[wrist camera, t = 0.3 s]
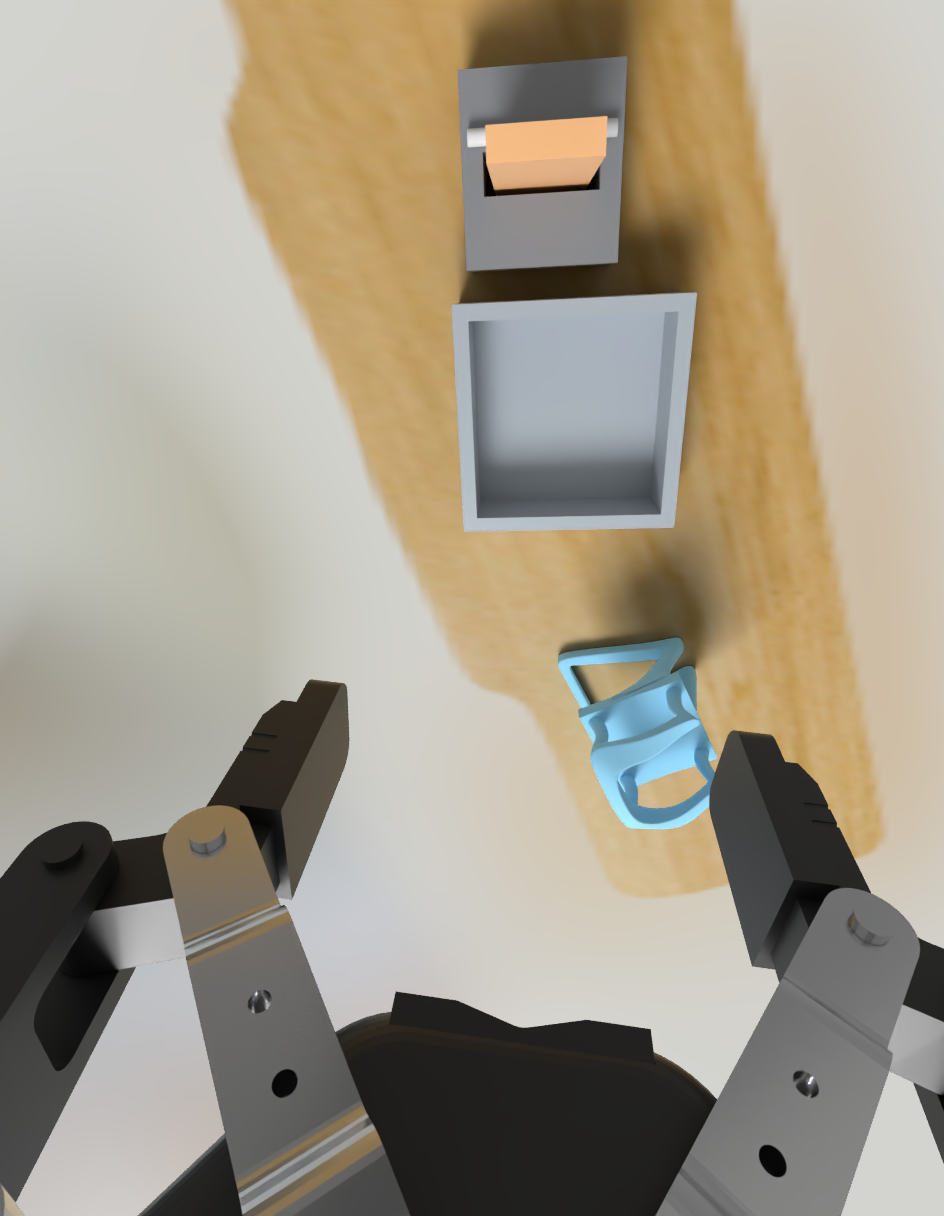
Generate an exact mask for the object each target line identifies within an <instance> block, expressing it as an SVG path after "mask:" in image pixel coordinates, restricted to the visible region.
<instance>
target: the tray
mask: <svg viewBox="0 0 944 1216" xmlns="http://www.w3.org/2000/svg"><path fill="white" fill-rule="evenodd" d="M696 299H697V293H695V292H672V293H652V294H632V295H612V296H592V297H572V298H552V299H532V300H512V301H492V302H472V303H457V304H453V305H452V323H453V341H454V359H455V378H456V396H457V414H458V433H459V451H460V469H461V488H462V506H463V524H464V532H475V531H527V530H579V529H632V528H674V524H675V514H676V504H677V493H678V483H679V473H680V463H681V452H682V442H683V432H684V422H685V412H686V401H687V391H688V381H689V371H690V360H691V350H692V340H693V330H694V319H695V309H696Z"/></svg>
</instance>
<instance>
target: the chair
mask: <svg viewBox="0 0 944 1216" xmlns="http://www.w3.org/2000/svg"><path fill="white" fill-rule="evenodd" d="M683 651H684V648H683V642H682V640H681V639H680V638H670V639H665V640H660V641H654V642H648V643H639V644H631V645H621V646H611V647H602V648H592V649H584V650H576V651H570V652H566V653H563V654H560V655H559V656H558V666H559V668H560V670H561V672H562V674H563V676H564V678H565V679H566V681H567V683H568V685H569V687H570V688H571V690H572V692H573V694H574V696H575V698H576V699H577V701H578V703H579V705H580V707H581V709H579V710H578V711H579V718H580V720H581V722H582V723H583V725H584V727H585V729H586V731H587V733H588V734H589V736H590V738H591V739H592V741H593V743H594V744H593V747H592V751H591V763H592V765H593V768H594V770H595V773H596V775H597V777H598V779H599V782H600V784H601V786H602V788H603V790H604V792H605V795H606V797H607V799H608V801H609V802H610V804H611V806H612V808H613V810H614V811H615V813H616V814H617V816H618V817H619V819H620V820H621V821H622V822H623V823H624V824H625V825H626V826H627V827H629V828H639V829H670V828H676V827H680V826H683V825H685V824H687V823H689V822H691V821H692V820H694V819H695V818H696V817H697V816H699V815H700V814H701V813H702V812H703V811H704V810H705V809H706V808H708V807H709V795H710V788H711V784H712V781H713V778H714V775H715V772H714V770H713V769H712V767H711V766H710V763H709V761H712V760H715V759H718V758H717V756H716V753H715V751H714V749H713V746H712V744H711V742H710V740H709V738H708V736H707V733H706V731H705V729H704V727H703V725H702V723H701V720H700V718H699V716H698V714H697V702H696V679H697V678H696V672H695V669H694V667H692V666H686V667H683V668H681V669H679V670H677V671H675V672H674V673H672V674H670V672H671V670H672V668H673V666H674V665H675V663H676V662H677V660H678V659H679V657H680V656H681V654H682V653H683ZM648 660H657V662H656V663H655V664H654V666H653V667H652V668H651V669H650V671H649V672H648V673H647V674H646V675H645V676H644V677H643V678H642V679H641V680H639V681H638V682H637V683H636V684H634V685H632V686H631V687H629V688H628V689H626V690H624V691H622V692H620V693H619V694H617V695H615V696H613V697H611V698H609V699H607V700H603V701H600V702H597V703H594V704H592V705H591V704H590V702H589V700H588V698H587V696H586V694H585V692H584V691H583V689H582V687H581V685H580V683H579V681H578V679H577V678H576V676H575V674H574V672H573V670H572V668H571V666H575V665H587V664H602V663H619V662H635V661H648ZM694 766H696V767H697V769H698V770H699V771H700V773H701V774H702V775H703V776H704V778H705V779H706V780H707V781H708V783H707V784H706V785H705V786H704V787H703V788H701V789H700V790H699V791H698V792H697V793H696V794H694V795H693V796H692V797H690V798H689V799H687V800H686V801H684V802H682V803H680V804H678V805H676V806H672V807H668V808H658V809H655V808H646V807H642V806H639V805H638V788H637V786H639V785H642V784H644V783H647V782H649V781H651V780H654V779H656V778H659V777H662V776H665V775H668V774H670V773H673V772H676V771H680V770H683V769H687V768H690V767H694ZM624 791H625V792H624Z"/></svg>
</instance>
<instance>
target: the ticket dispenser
mask: <svg viewBox="0 0 944 1216" xmlns="http://www.w3.org/2000/svg"><path fill="white" fill-rule="evenodd" d="M626 77H627V56H621V57H609V58H597V59H584V60H572V61H560V62H548V63H535V64H523V65H511V66H499V67H486V68H474V69H462V70H458V89H459V112H460V134H461V157H462V180H463V202H464V225H465V247H466V270H467V271H469V272H482V271H501V270H519V269H538V268H556V267H575V266H593V265H611V264H614V263H618V245H619V224H620V203H621V182H622V161H623V140H624V119H625V98H626ZM601 116H607V141H606V156H605V158H604V159H603V161H602V163H601V164H600V166H599V168H598V169H597V171H596V173H595V174H594V190H585V191H570V192H554V193H539V194H523V195H507V196H492V197H487V180H486V133H485V125H492V124H506V123H519V122H533V121H547V120H560V119H574V118H587V117H601Z"/></svg>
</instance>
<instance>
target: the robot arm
mask: <svg viewBox="0 0 944 1216" xmlns="http://www.w3.org/2000/svg"><path fill="white" fill-rule="evenodd" d="M348 749H349V721H348V699H347V687H346V685H345V684H344V683H336V682H328V681H320V680H309V681H308V683H307V684H306V686H305V688H304V690H303V691H302V693H301V695H300V697H299V699H298V700H297V702H292V701H284V700H282V701H280V702H279V703H278V704H276V705H275V706H274V707H273V708H271V709H270V710H269V711H267V712H266V713H264V714H263V715H262V717H261V719H260V720H259V722H258V724H257V725H256V727H255V728H254V730H253V732H252V735H251V736H249V738H248V740H247V742H246V743H245V745H244V746H243V750H242V751H240V753H239V754H238V756H237V758H236V759H235V761H234V763H233V764H232V766H231V767H230V769H229V771H228V772H227V774H226V775H225V777H224V779H223V780H222V782H221V784H220V785H219V787H218V789H217V790H216V792H215V793H214V795H213V797H212V798H211V800H210V802H209V803H208V805H207V806H206V807H203V808H200V809H197V810H195V811H192V812H190V813H189V814H187V815H185V816H184V817H182V818H181V819H179V820H178V821H177V822H176V823H175V824H174V825H173V826H172V827H171V828H170V829H169V831H168V833H165V834H161V835H156V836H150V837H143V838H135V839H128V840H121V841H112V838H111V835H110V833H109V831H108V830H107V829H106V828H105V827H103V826H102V825H99V824H97V823H94V822H72V823H69V824H64V825H61V826H58V827H55V828H53V829H51V830H49V831H47V832H45V833H43V834H42V835H40V836H39V837H37V838H36V839H34V840H33V841H32V842H31V843H30V844H29V845H27V846H26V847H25V849H24V850H23V851H22V852H21V853H20V854H19V856H18V857H17V858H16V860H15V861H14V862H13V863H12V864H11V866H10V867H9V868H8V870H7V871H6V872H5V873H4V875H3V876H2V877H1V878H0V1216H24V1214H23V1212H22V1211H21V1210H20V1208H19V1207H18V1206H17V1204H16V1201H17V1199H18V1197H19V1195H20V1193H21V1191H22V1189H23V1187H24V1185H25V1183H26V1181H27V1179H28V1177H29V1175H30V1173H31V1171H32V1169H33V1167H34V1165H35V1164H36V1162H37V1159H38V1158H39V1156H40V1154H41V1152H42V1150H43V1148H44V1146H45V1144H46V1142H47V1140H48V1138H49V1136H50V1134H51V1132H52V1130H53V1128H54V1126H55V1124H56V1122H57V1120H58V1118H59V1117H60V1115H61V1113H62V1111H63V1108H64V1106H65V1105H66V1103H67V1101H68V1099H69V1097H70V1095H71V1093H72V1091H73V1089H74V1087H75V1085H76V1083H77V1081H78V1079H79V1077H80V1075H81V1073H82V1072H83V1070H84V1068H85V1066H86V1064H87V1062H88V1060H89V1057H90V1055H91V1054H92V1052H93V1050H94V1048H95V1046H96V1044H97V1042H98V1040H99V1038H100V1036H101V1034H102V1032H103V1030H104V1028H105V1026H106V1025H107V1023H108V1021H109V1019H110V1017H111V1015H112V1013H113V1011H114V1009H115V1007H116V1005H117V1003H118V1001H119V999H120V997H121V995H122V993H123V991H124V989H125V987H126V985H127V983H128V981H129V979H130V977H131V976H132V974H133V972H134V970H135V968H136V966H142V965H147V964H153V963H158V962H164V961H169V960H175V959H180V958H186V960H187V965H188V970H189V974H190V979H191V983H192V988H193V992H194V996H195V1000H196V1006H197V1010H198V1015H199V1019H200V1023H201V1028H202V1032H203V1037H204V1041H205V1046H206V1050H207V1055H208V1059H209V1064H210V1068H211V1073H212V1077H213V1082H214V1086H215V1091H216V1095H217V1100H218V1104H219V1108H220V1113H221V1117H222V1122H223V1126H224V1130H225V1134H224V1135H222V1136H221V1137H220V1138H219V1139H218V1140H217V1141H216V1142H215V1143H214V1144H213V1145H212V1146H211V1147H210V1148H209V1149H208V1150H207V1151H206V1152H205V1153H203V1155H201V1156H200V1157H199V1158H198V1159H197V1160H196V1161H195V1162H194V1163H193V1164H192V1165H191V1166H190V1167H189V1168H188V1169H187V1170H186V1171H184V1172H183V1174H181V1175H180V1176H179V1177H178V1178H177V1179H176V1180H175V1181H174V1182H173V1183H172V1184H171V1185H170V1186H169V1187H168V1188H167V1189H166V1190H165V1191H163V1192H162V1193H161V1194H160V1195H159V1196H158V1197H157V1198H156V1199H155V1200H154V1201H153V1202H152V1203H151V1204H150V1205H149V1206H148V1207H147V1208H145V1210H143V1211H142V1212H141V1213H140V1214H139V1215H138V1216H841V1214H842V1210H843V1208H844V1204H845V1202H846V1199H847V1195H848V1193H849V1189H850V1187H851V1184H852V1181H853V1178H854V1175H855V1171H856V1168H857V1166H858V1162H859V1160H860V1156H861V1153H862V1151H863V1147H864V1145H865V1142H866V1139H867V1136H868V1133H869V1129H870V1127H871V1124H872V1121H873V1118H874V1115H875V1111H876V1108H877V1106H878V1102H879V1100H880V1097H881V1094H882V1091H883V1088H884V1085H885V1082H886V1079H887V1076H888V1073H889V1071H890V1072H892V1073H894V1074H896V1075H899V1076H901V1077H903V1078H905V1079H907V1080H910V1081H911V1082H913V1083H914V1086H915V1088H916V1091H917V1094H918V1096H919V1099H920V1102H921V1104H922V1107H923V1110H924V1112H925V1115H926V1118H927V1120H928V1123H929V1126H930V1128H931V1131H932V1134H933V1136H934V1139H935V1142H936V1144H937V1147H938V1150H939V1152H940V1155H941V1158H942V1160H943V1163H944V949H943V948H941V947H938V946H936V945H933V944H930V943H928V942H926V941H924V940H922V939H920V938H918V937H917V935H916V933H915V931H914V929H913V928H912V926H911V925H910V923H909V922H908V921H907V920H906V918H905V917H904V916H903V915H902V914H901V913H900V912H899V911H898V910H897V909H895V908H894V907H893V906H891V905H890V904H889V903H887V902H886V901H884V900H883V899H881V898H879V897H877V896H875V895H873V894H871V892H870V890H869V888H868V886H867V884H866V882H865V879H864V878H863V875H862V873H861V871H860V869H859V867H858V865H857V863H856V861H855V859H854V857H853V855H852V853H851V851H850V849H849V847H848V845H847V843H846V841H845V839H844V837H843V835H842V832H841V830H840V828H837V822H836V820H835V818H834V816H833V814H832V812H831V810H829V809H828V804H827V802H826V800H825V798H824V796H823V794H822V792H821V790H820V788H819V786H818V784H817V783H816V782H815V781H814V780H813V778H812V777H811V776H810V775H809V774H808V773H807V772H806V771H805V770H804V769H803V768H802V767H801V766H800V765H799V764H798V763H790V762H785V761H784V758H783V756H782V754H781V752H780V749H779V747H778V745H777V743H776V741H775V739H774V737H773V736H772V735H768V734H760V733H752V732H743V731H735V730H733V731H731V732H730V733H729V735H728V737H727V740H726V743H725V745H724V748H723V751H722V754H721V757H720V760H719V763H718V766H717V769H716V772H715V775H714V778H713V781H712V784H711V788H710V795H709V807H710V815H711V819H712V822H713V826H714V830H715V833H716V837H717V840H718V844H719V848H720V851H721V855H722V859H723V862H724V866H725V869H726V873H727V877H728V880H729V884H730V888H731V891H732V895H733V898H734V902H735V906H736V909H737V913H738V917H739V920H740V924H741V927H742V931H743V935H744V938H745V942H746V945H747V949H748V953H749V956H750V960H751V964H752V966H755V967H761V968H768V969H775V970H776V973H777V977H778V980H779V985H778V987H777V989H776V991H775V993H774V995H773V996H772V998H771V1000H770V1002H769V1004H768V1006H767V1008H766V1010H765V1011H764V1013H763V1015H762V1017H761V1019H760V1021H759V1023H758V1025H757V1026H756V1028H755V1030H754V1032H753V1034H752V1036H751V1038H750V1040H749V1042H748V1043H747V1045H746V1047H745V1049H744V1051H743V1053H742V1055H741V1057H740V1058H739V1060H738V1062H737V1064H736V1066H735V1068H734V1070H733V1072H732V1073H731V1075H730V1077H729V1079H728V1081H727V1083H726V1085H725V1087H724V1088H723V1090H722V1092H721V1094H720V1096H719V1098H718V1100H717V1099H716V1098H715V1097H714V1096H713V1095H712V1094H711V1093H710V1092H709V1090H708V1089H707V1088H705V1087H704V1086H703V1085H702V1084H701V1083H700V1082H699V1081H698V1080H697V1079H695V1078H694V1077H693V1076H692V1075H691V1074H689V1073H688V1072H686V1071H685V1070H684V1069H682V1068H681V1067H680V1066H678V1065H676V1064H675V1063H673V1062H671V1061H670V1060H668V1059H666V1058H665V1057H663V1056H661V1055H658V1054H656V1053H654V1052H653V1044H652V1036H651V1029H645V1028H638V1027H631V1026H624V1025H618V1024H611V1023H605V1022H597V1021H591V1020H582V1021H575V1022H568V1023H559V1024H552V1025H545V1026H537V1027H529V1028H520V1027H517V1026H514V1025H511V1024H509V1023H507V1022H504V1021H502V1020H500V1019H498V1018H496V1017H493V1016H491V1015H489V1014H486V1013H484V1012H482V1011H479V1010H477V1009H475V1008H473V1007H470V1006H468V1005H466V1004H464V1003H461V1002H459V1001H456V1000H449V999H442V998H435V997H429V996H422V995H415V994H409V993H401V992H396V993H395V998H394V1003H393V1008H392V1012H387V1013H380V1014H376V1015H373V1016H369V1017H366V1018H363V1019H360V1020H358V1021H356V1022H353V1023H351V1024H349V1025H347V1026H345V1027H344V1028H342V1029H340V1030H338V1031H337V1032H335V1031H334V1028H333V1025H332V1023H331V1020H330V1018H329V1015H328V1012H327V1010H326V1007H325V1005H324V1002H323V999H322V997H321V994H320V992H319V989H318V987H317V984H316V981H315V979H314V976H313V973H312V971H311V968H310V966H309V963H308V960H307V958H306V955H305V953H304V950H303V947H302V945H301V942H300V939H299V937H298V934H297V932H296V929H295V926H294V924H293V921H292V919H291V916H290V914H289V912H288V910H287V908H286V906H285V905H283V906H281V905H280V903H279V900H278V898H284V899H291V900H292V898H293V896H294V893H295V891H296V888H297V886H298V883H299V881H300V878H301V876H302V873H303V871H304V868H305V866H306V863H307V861H308V858H309V856H310V853H311V850H312V848H313V845H314V843H315V840H316V838H317V835H318V833H319V830H320V828H321V825H322V823H323V820H324V818H325V815H326V812H327V810H328V808H329V805H330V802H331V800H332V798H333V795H334V792H335V790H336V787H337V785H338V782H339V780H340V777H341V775H342V772H343V770H344V767H345V764H346V760H347V755H348Z"/></svg>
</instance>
